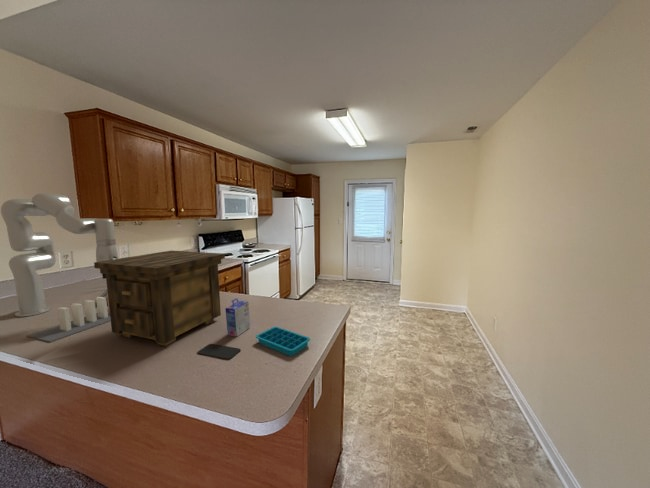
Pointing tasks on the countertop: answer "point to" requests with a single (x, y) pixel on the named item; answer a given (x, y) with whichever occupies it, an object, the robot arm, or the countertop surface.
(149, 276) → the wooden nightstand
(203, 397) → the countertop surface
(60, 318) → the ivory tile
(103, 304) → the ivory tile
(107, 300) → the terracotta tile
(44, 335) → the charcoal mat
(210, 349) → the phone
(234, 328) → the ink cartridge box
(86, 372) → the countertop surface
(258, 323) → the countertop surface
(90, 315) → the ivory tile
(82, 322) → the ivory tile
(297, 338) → the ice cube tray
